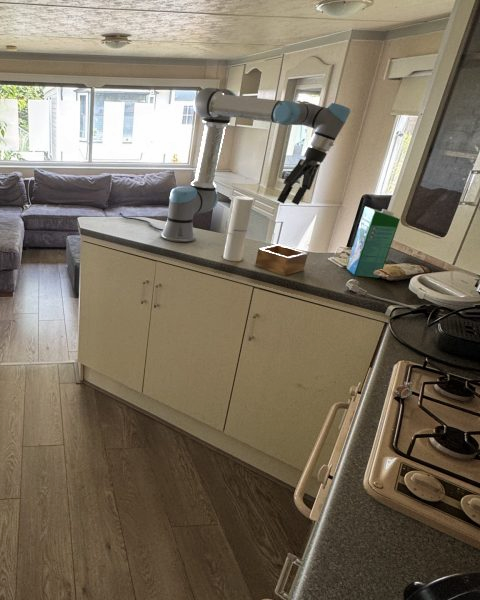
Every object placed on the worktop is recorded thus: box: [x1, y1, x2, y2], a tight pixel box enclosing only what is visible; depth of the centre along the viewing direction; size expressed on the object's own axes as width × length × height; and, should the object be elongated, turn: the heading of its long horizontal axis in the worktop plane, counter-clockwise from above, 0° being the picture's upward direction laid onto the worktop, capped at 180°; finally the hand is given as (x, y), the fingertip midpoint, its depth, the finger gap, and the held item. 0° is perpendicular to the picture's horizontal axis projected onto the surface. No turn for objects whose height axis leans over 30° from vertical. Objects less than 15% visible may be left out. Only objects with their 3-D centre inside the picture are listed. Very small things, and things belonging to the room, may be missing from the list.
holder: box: [254, 244, 309, 277], centre depth 168 cm, size 13×13×7 cm
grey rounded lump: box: [394, 381, 413, 399], centre depth 93 cm, size 3×2×4 cm
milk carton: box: [345, 206, 401, 279], centre depth 163 cm, size 9×9×25 cm
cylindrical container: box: [222, 195, 254, 262], centre depth 174 cm, size 7×7×25 cm
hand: (287, 202), depth 169 cm, fingers open, 13 cm apart
